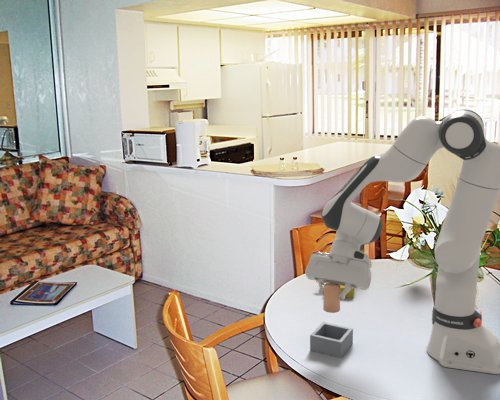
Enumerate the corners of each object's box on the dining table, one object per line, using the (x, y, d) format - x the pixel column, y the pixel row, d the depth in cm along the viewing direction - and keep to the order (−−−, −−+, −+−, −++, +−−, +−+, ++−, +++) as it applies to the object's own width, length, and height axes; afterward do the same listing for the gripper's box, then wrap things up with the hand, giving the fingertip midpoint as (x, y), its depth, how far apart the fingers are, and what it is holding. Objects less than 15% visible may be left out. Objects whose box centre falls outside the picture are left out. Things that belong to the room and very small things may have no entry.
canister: (342, 307, 168) (342, 284, 166) (336, 314, 164) (336, 290, 162) (327, 304, 170) (327, 281, 168) (320, 310, 166) (321, 287, 164)
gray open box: (352, 343, 171) (353, 328, 170) (341, 357, 163) (341, 342, 162) (322, 336, 176) (322, 322, 175) (310, 350, 168) (310, 335, 167)
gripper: (309, 246, 174) (296, 285, 168) (372, 256, 164) (361, 298, 158) (315, 255, 179) (302, 294, 173) (376, 265, 169) (365, 307, 163)
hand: (331, 296), depth 165 cm, fingers closed on canister, 5 cm apart
